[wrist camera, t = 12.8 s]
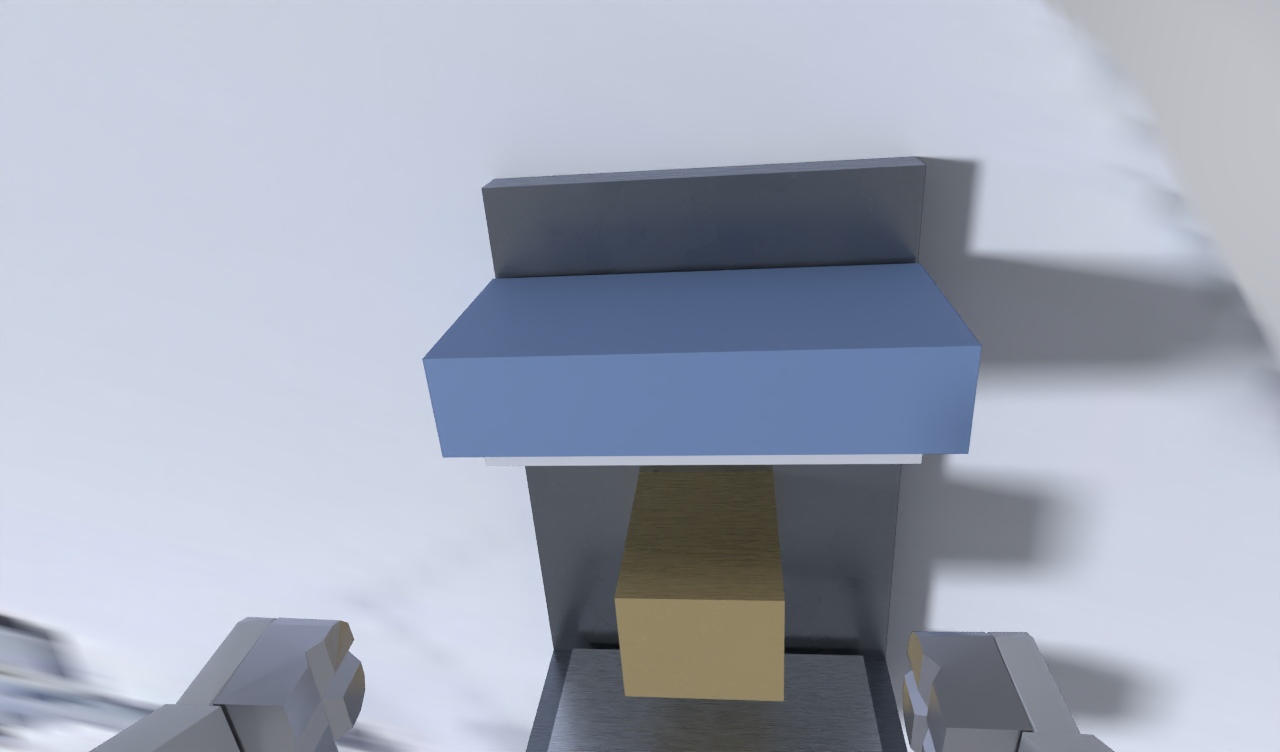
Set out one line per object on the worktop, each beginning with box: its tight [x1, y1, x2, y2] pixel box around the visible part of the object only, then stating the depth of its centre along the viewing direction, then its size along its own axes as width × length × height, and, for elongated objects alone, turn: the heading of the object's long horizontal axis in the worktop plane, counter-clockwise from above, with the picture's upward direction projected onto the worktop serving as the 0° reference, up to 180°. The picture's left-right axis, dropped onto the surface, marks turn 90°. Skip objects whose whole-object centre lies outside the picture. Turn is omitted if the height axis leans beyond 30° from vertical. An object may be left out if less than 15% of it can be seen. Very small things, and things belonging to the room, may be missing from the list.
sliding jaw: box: [423, 263, 982, 466], centre depth 23 cm, size 4×14×7 cm, turn 94°
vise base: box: [482, 157, 926, 752], centre depth 27 cm, size 23×14×8 cm, turn 4°
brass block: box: [614, 471, 785, 701], centre depth 27 cm, size 4×5×7 cm
